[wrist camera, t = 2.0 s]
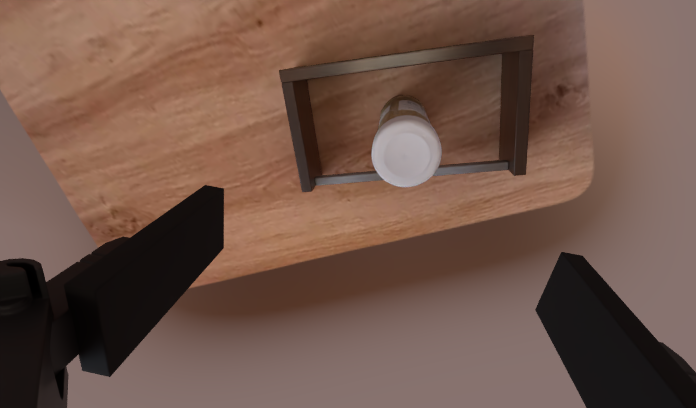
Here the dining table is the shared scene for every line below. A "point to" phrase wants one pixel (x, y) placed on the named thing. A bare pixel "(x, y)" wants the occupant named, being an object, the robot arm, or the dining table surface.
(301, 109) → the spice rack
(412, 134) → the spice jar
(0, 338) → the robot arm
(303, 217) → the dining table surface
